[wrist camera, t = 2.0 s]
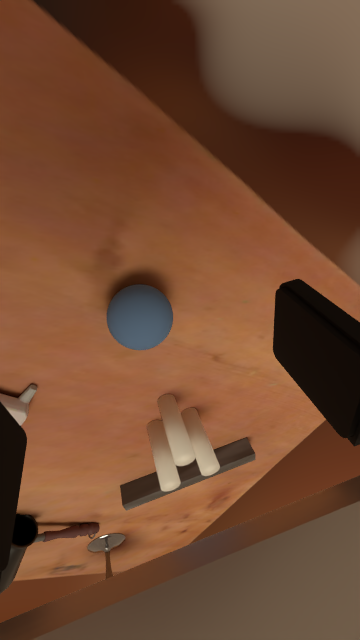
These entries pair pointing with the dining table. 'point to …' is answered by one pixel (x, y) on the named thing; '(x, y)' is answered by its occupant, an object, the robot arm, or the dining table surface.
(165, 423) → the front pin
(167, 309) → the ball
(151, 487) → the back wall
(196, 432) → the pin
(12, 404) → the mobile phone
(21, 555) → the coffee pot
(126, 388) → the dining table surface
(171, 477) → the pin
